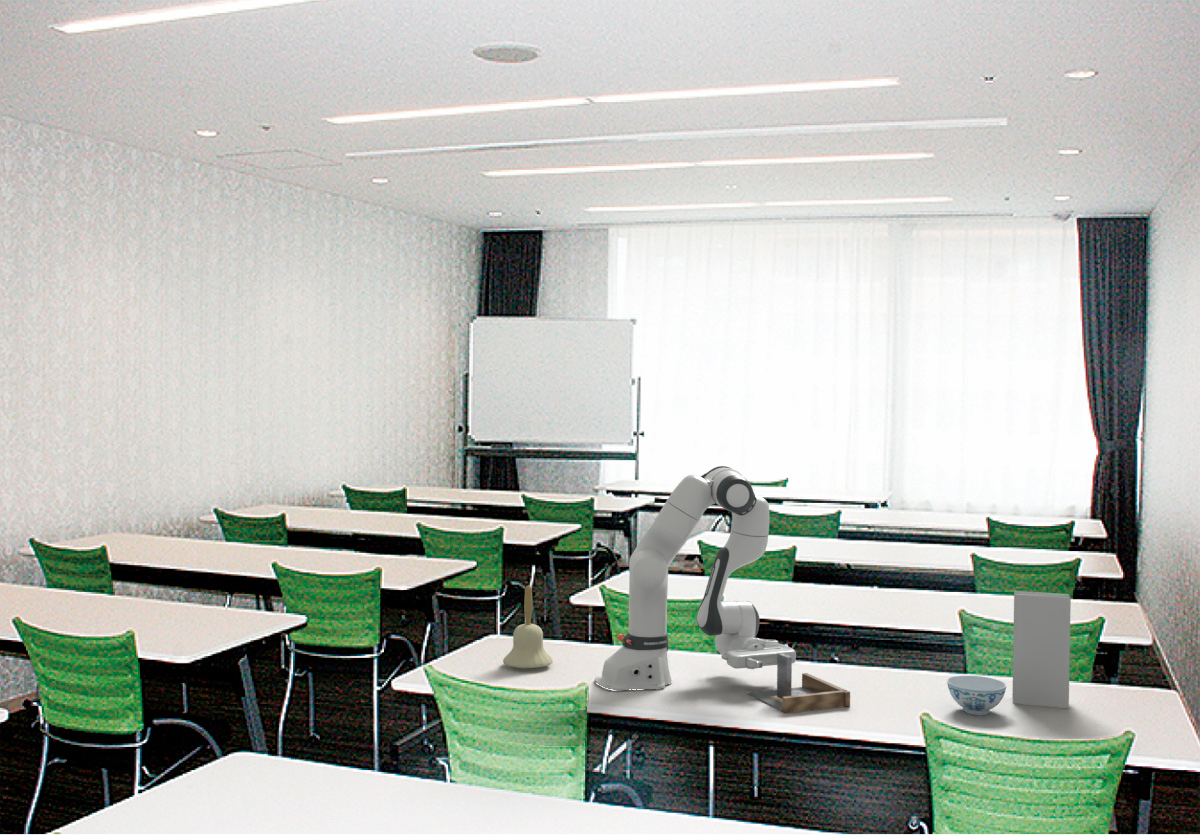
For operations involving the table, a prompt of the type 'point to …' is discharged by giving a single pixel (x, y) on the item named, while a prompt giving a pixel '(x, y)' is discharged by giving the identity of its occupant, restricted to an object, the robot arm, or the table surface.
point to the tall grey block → (1041, 649)
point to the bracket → (785, 676)
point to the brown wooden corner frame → (816, 696)
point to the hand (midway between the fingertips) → (774, 663)
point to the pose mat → (775, 696)
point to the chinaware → (976, 693)
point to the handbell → (528, 642)
